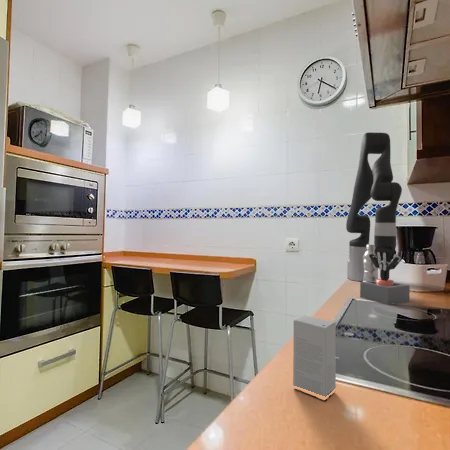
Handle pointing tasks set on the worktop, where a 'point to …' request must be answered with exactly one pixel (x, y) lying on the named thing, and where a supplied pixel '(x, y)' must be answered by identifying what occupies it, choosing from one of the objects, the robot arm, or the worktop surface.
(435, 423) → the worktop surface
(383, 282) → the button
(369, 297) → the button box
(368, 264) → the plastic bottle
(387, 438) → the worktop surface
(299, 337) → the skincare box
